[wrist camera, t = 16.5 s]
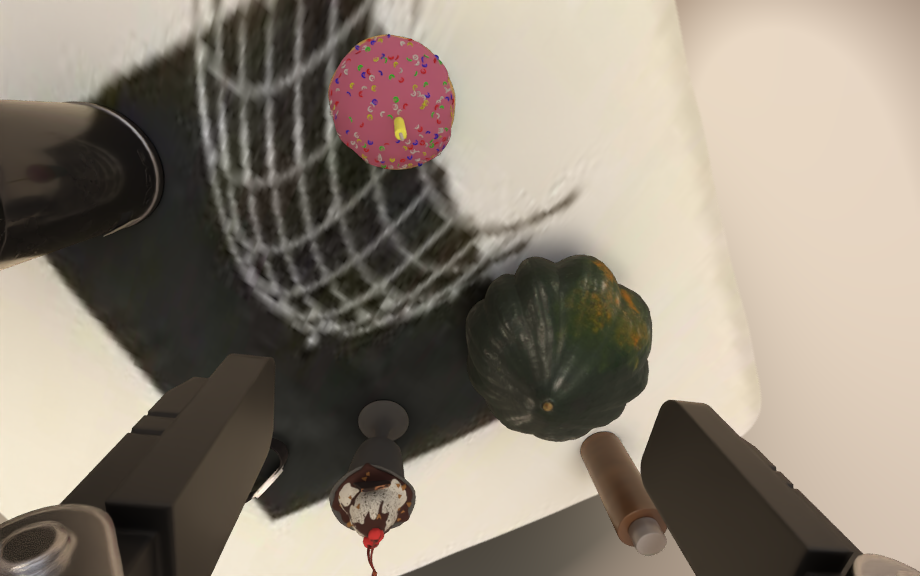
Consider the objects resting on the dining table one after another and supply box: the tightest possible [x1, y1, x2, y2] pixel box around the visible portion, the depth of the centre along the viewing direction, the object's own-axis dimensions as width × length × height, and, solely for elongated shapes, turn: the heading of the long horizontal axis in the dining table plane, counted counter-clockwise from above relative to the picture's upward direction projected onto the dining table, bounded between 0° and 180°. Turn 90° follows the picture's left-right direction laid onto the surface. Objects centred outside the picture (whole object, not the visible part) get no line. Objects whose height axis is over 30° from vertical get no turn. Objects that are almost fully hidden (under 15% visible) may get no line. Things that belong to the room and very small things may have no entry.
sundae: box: [329, 400, 416, 576], centre depth 38 cm, size 7×7×15 cm
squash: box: [466, 255, 652, 442], centre depth 36 cm, size 14×15×15 cm
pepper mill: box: [581, 432, 667, 556], centre depth 43 cm, size 4×4×12 cm
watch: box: [245, 438, 288, 503], centre depth 44 cm, size 8×5×4 cm, turn 137°
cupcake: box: [328, 34, 455, 170], centre depth 29 cm, size 9×8×12 cm
